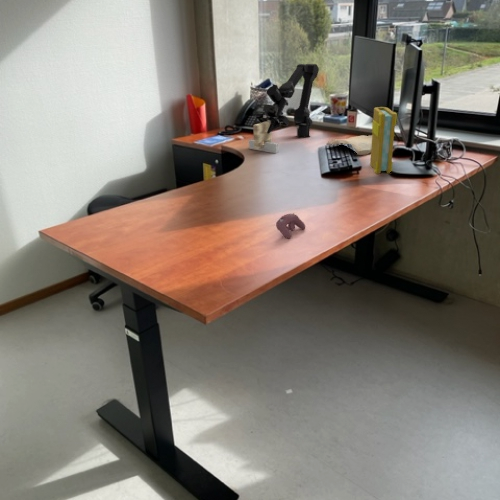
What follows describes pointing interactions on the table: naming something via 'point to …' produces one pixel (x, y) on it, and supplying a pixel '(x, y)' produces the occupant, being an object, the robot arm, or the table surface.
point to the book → (382, 139)
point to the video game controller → (289, 224)
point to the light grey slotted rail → (265, 146)
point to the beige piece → (356, 143)
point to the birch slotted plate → (261, 134)
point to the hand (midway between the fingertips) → (265, 132)
